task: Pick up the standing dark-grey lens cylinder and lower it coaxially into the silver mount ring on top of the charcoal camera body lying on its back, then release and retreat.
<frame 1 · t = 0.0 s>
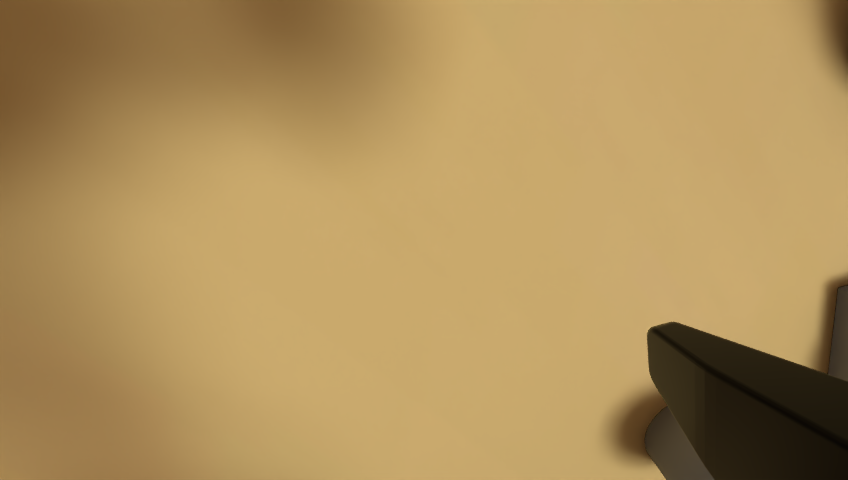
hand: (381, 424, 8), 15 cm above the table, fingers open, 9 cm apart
lens: (686, 431, 30), on the table
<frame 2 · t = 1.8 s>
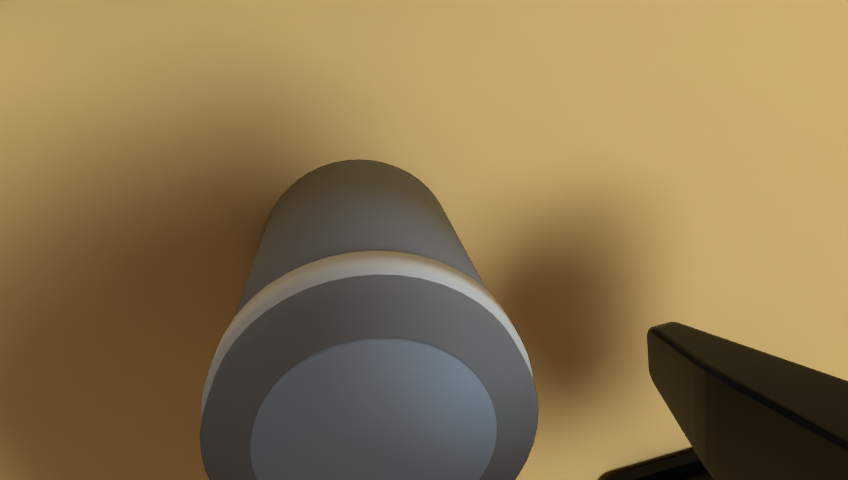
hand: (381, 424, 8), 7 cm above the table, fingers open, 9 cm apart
lens: (359, 250, 14), on the table
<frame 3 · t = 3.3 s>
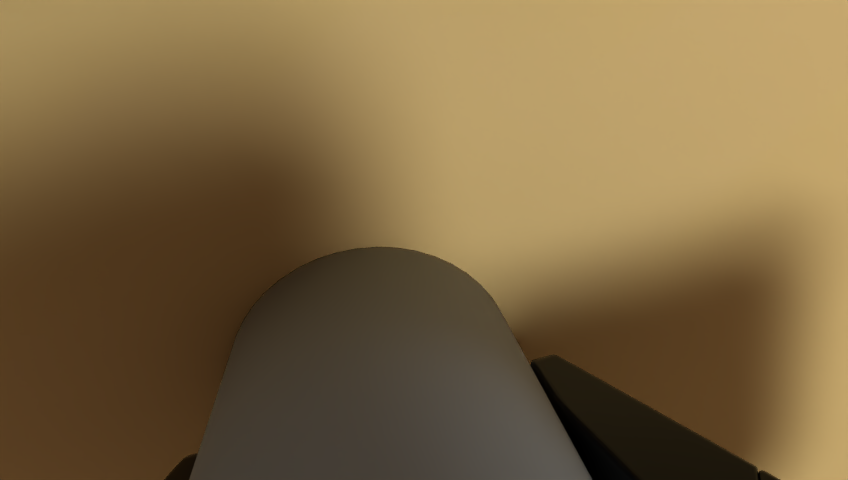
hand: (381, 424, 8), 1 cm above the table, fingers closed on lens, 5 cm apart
lens: (376, 375, 9), on the table, touching gripper
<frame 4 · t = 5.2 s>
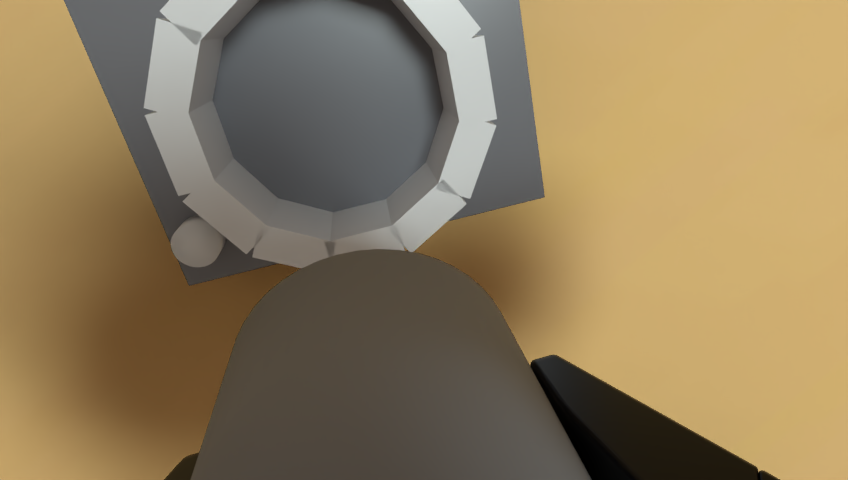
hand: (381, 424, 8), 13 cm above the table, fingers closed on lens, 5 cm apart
camera body: (334, 92, 18), on the table
lens: (376, 377, 9), point 11 cm above the table, touching gripper
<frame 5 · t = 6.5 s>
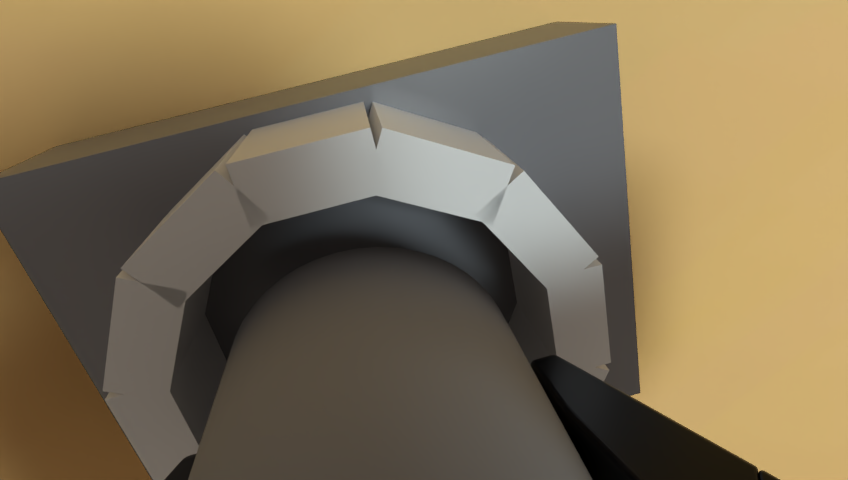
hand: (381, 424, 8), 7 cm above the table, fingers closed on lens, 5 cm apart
camera body: (362, 251, 14), on the table
lens: (375, 376, 9), point 5 cm above the table, touching gripper
when the fingers open (6 cm above the table, at t = 7.3 s): lens drops 2 cm, resting on camera body.
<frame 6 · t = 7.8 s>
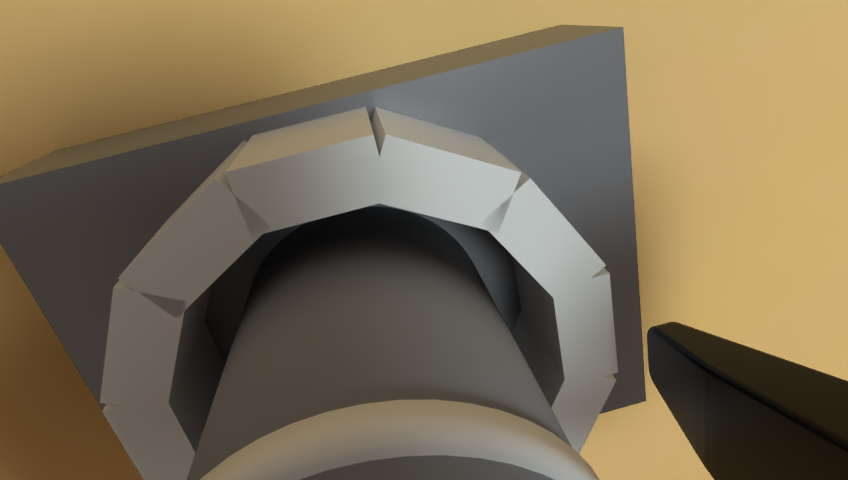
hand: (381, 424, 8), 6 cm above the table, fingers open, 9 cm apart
camera body: (364, 257, 14), on the table
lens: (369, 317, 11), point 3 cm above the table, touching camera body
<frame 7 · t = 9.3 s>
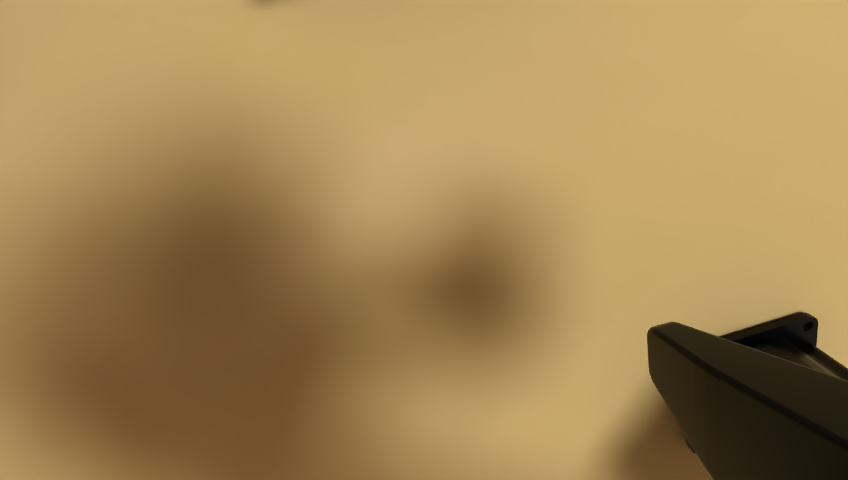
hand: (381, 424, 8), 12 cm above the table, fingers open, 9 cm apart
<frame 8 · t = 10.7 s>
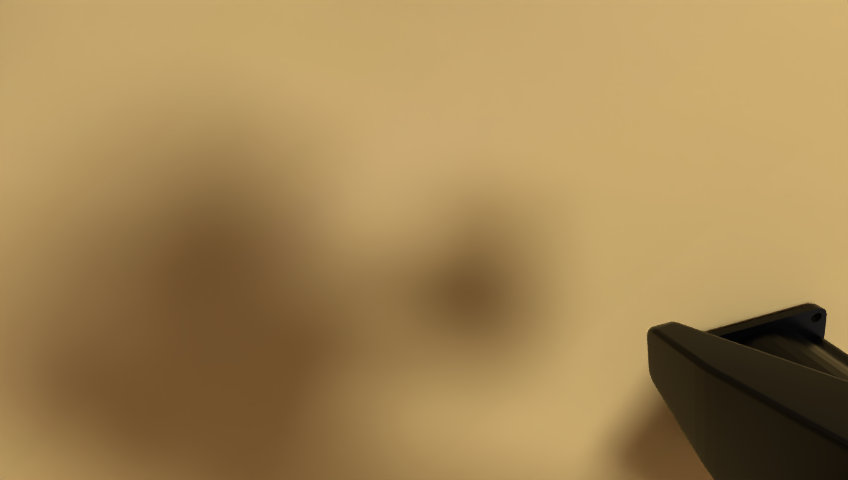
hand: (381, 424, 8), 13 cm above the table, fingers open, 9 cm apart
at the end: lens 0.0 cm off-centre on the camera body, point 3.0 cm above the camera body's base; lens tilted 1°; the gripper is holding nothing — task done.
